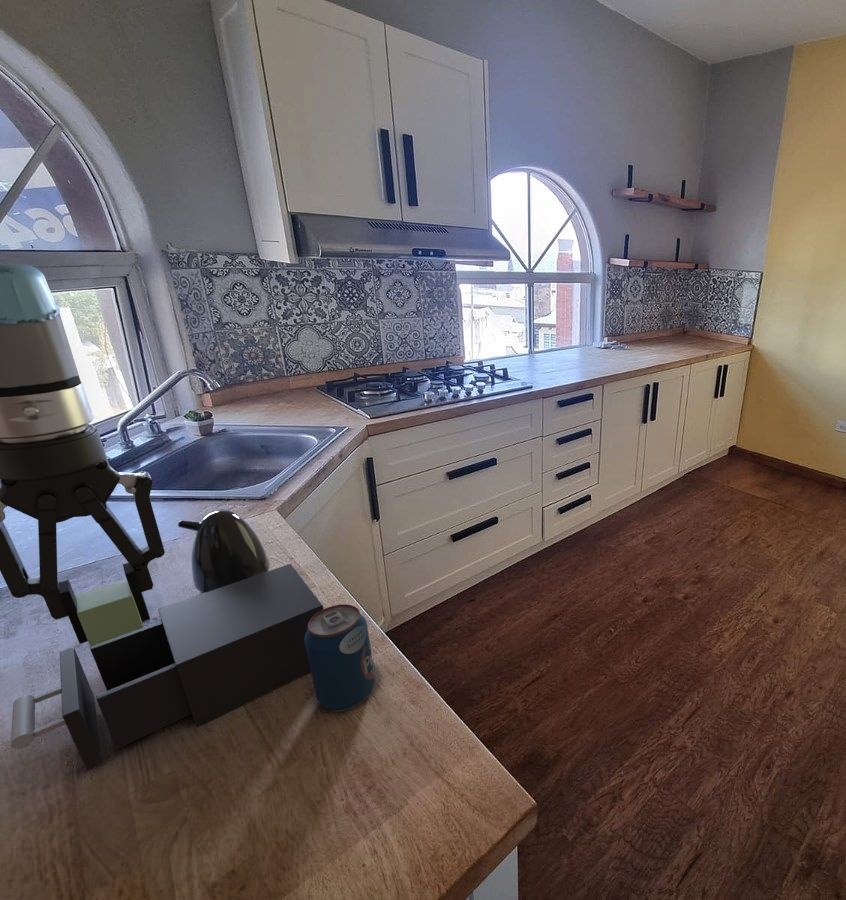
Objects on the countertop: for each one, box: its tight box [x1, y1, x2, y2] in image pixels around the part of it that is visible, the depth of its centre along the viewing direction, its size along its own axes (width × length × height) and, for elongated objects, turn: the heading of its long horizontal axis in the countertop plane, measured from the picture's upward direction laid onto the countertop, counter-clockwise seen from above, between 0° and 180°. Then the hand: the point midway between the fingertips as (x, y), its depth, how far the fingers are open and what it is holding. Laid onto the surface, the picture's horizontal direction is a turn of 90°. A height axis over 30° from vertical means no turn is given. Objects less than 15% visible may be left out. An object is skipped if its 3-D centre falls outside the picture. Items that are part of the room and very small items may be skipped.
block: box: [74, 578, 144, 647], centre depth 56 cm, size 4×4×4 cm
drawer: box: [10, 620, 192, 771], centre depth 60 cm, size 19×12×8 cm, turn 136°
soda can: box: [304, 603, 376, 712], centre depth 63 cm, size 7×7×12 cm
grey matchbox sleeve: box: [157, 563, 325, 728], centre depth 68 cm, size 16×14×10 cm
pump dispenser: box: [177, 509, 271, 594], centre depth 81 cm, size 10×10×15 cm
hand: (115, 624), depth 57 cm, fingers closed on block, 4 cm apart
